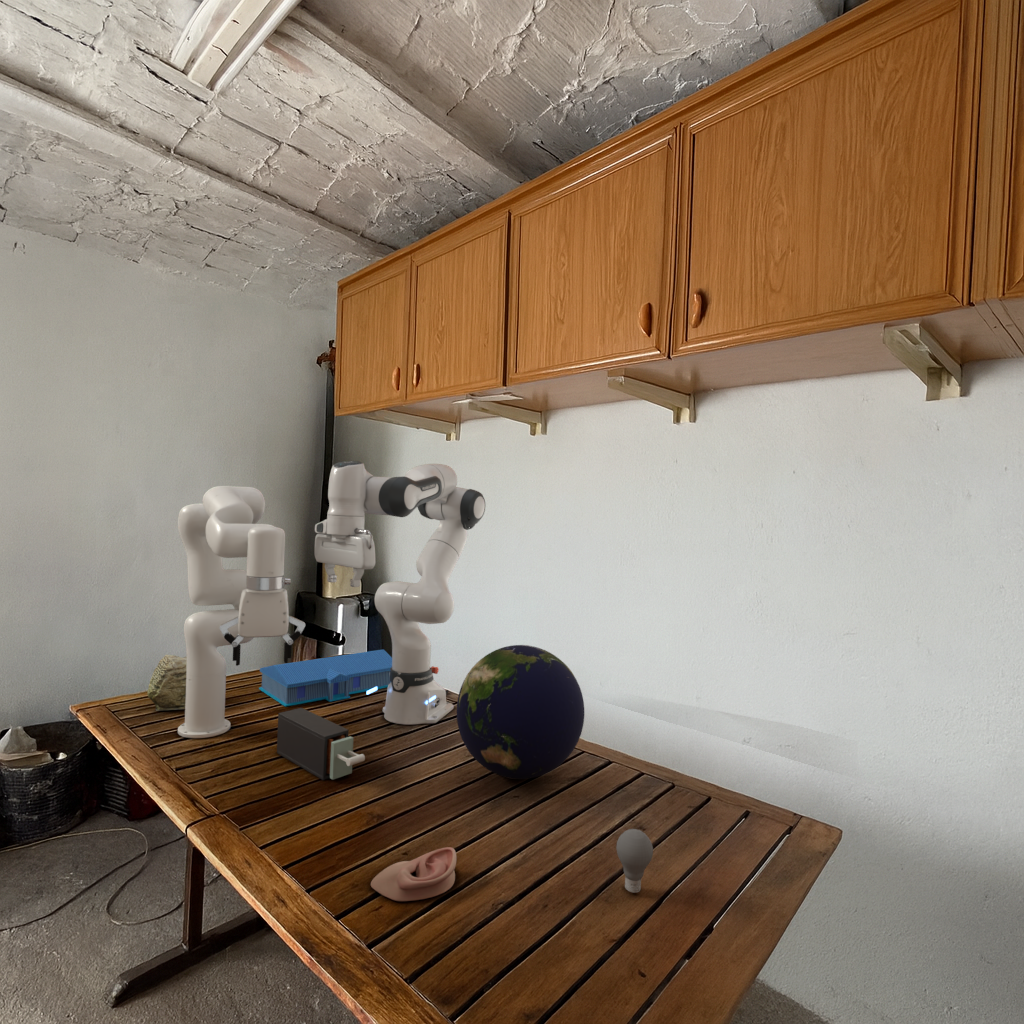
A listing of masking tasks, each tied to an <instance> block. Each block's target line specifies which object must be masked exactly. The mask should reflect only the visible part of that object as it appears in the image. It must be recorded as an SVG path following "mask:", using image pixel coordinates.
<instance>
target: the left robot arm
mask: <svg viewBox="0 0 1024 1024" xmlns="http://www.w3.org/2000/svg"><path fill="white" fill-rule="evenodd" d="M265 509H266V500H265V497H264V495H263V493H262V491H261V490H260V489H258V488H256V487H253V486H237V485H235V486H234V485H216V486H213V487H210V488H209V489H207V491H205V493H204V494H203V496H202V503H191V504H187V505H185V506H183V507H182V508H180V510H179V513H178V517H177V527H178V529H177V530H178V534H179V537H180V540H181V542H182V546H183V548H184V550H185V554H186V560H187V561H186V562H187V587H188V597H189V600H190V601H191V603H192V604H193V605H195V606H200V607H207V606H208V607H209V606H225V605H232V606H233V608H229V609H212V610H203V611H197V612H194V613H192V614H190V615H188V616H187V618H186V619H185V620H184V623H183V635H184V641H185V651H186V652H185V653H186V657H187V669H186V701H185V709H184V722H182V724H180V725H179V726H178V727H177V734H178V735H179V736H180V737H182V738H188V739H207V738H212V737H216V736H220V735H222V734H224V733H227V732H228V731H230V729H231V727H232V725H231V723H232V722H231V721H230V720H228V719H226V718H225V715H226V692H227V691H226V689H227V661H226V659H225V657H224V656H223V655H222V653H220V651H218V649H217V648H219V647H223V646H224V647H225V646H231V647H232V662H235V667H238V666H240V664H241V645H242V644H246V643H250V642H251V641H253V639H254V638H279V637H281V638H282V639H283V641H285V642H284V644H283V664H285V663H289V662H288V661H289V659H292V645H293V644H294V642H295V641H296V640H297V639H298V638H299V637H301V635H302V633H303V631H304V630H305V628H306V623H305V622H304V621H303V620H300V619H298V618H297V617H294V616H292V615H289V614H290V612H289V611H290V610H289V596H288V590H287V589H286V588H284V587H286V586H288V585H291V583H292V581H291V578H287V577H286V576H284V575H285V552H286V551H285V550H286V531H285V530H284V529H283V528H281V527H278V526H275V525H273V524H270V523H269V524H268V523H258V522H259V521H260V520H261V518H262V517H263V515H264V513H265ZM223 558H224V559H237V558H246V570H245V569H241V568H228V569H225V568H224V565H223ZM289 623H290V624H292V625H294V626H296V629H295V631H293V632H292V634H290V633H289V632H288V631H289V625H290V624H289Z"/></svg>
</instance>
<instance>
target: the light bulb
mask: <svg viewBox="0 0 1024 1024" xmlns="http://www.w3.org/2000/svg"><path fill="white" fill-rule="evenodd" d="M615 849H616V854H617V857H618V859H619V861H620V863H621V865H622V867H623V873H624V874H623V875H624V876H625V878H624V888H625V890H627V891H628V892H630V893H634V894H635V893H639V892H640V891H641V889H642V887H641V886H642V879H643V877H644V875H645V871H646V868H647V867H648V866H649V864H650V863H651V861H652V859H653V855H654V847H653V843H652V841H651V838H649V836H648V835H647V834H646V833H645V832H643V831H642V830H641V829H636V828H629V829H627V830H625V831H623V832H622V833H621V834H620V835H619V837H618V839H617V841H616V847H615Z"/></svg>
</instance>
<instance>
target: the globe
mask: <svg viewBox="0 0 1024 1024" xmlns="http://www.w3.org/2000/svg"><path fill="white" fill-rule="evenodd" d="M456 721H457V722H456V723H457V727H458V731H459V734H460V737H461V740H462V742H463V744H464V747H465V748H466V749H467V751H468V752H469V754H470V755H471V756H472V757H473V759H474V760H475V761H476V762H477V763H478V764H479V765H481V766H482V767H483V768H485V769H486V770H488V771H489V772H491V773H493V774H495V775H497V776H500V777H502V778H507V779H511V780H527V779H528V780H529V779H535V778H538V777H542V776H544V775H546V774H549V773H551V772H552V771H554V770H556V769H557V768H558V767H559V766H561V765H562V764H563V763H564V762H565V761H566V760H567V759H568V758H569V757H570V756H571V754H572V753H573V752H574V750H575V748H576V747H577V745H578V742H579V740H580V739H581V736H582V733H583V728H584V723H585V702H584V696H583V692H582V689H581V687H580V684H579V681H578V680H577V678H576V676H575V675H574V673H573V672H572V670H571V669H570V668H569V667H568V665H567V664H566V663H565V662H564V661H562V659H560V658H559V657H558V656H556V655H555V654H553V653H552V652H550V651H547V650H546V649H543V648H540V647H537V646H532V645H529V644H514V645H513V644H512V645H507V646H503V647H500V648H497V649H495V650H493V651H491V652H489V653H488V654H486V655H484V656H483V657H481V658H480V660H478V661H477V662H476V663H475V664H474V665H473V666H472V668H471V669H470V670H469V671H468V672H467V674H466V676H465V677H464V679H463V682H462V684H461V686H460V689H459V692H458V696H457V703H456Z"/></svg>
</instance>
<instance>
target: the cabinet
mask: <svg viewBox="0 0 1024 1024" xmlns="http://www.w3.org/2000/svg"><path fill="white" fill-rule="evenodd" d="M349 734H350V732H349V729H348V728H346V727H343V726H342V725H340V724H337V723H335V722H333V721H332V720H329V719H326V718H325V717H322V716H320V715H318V714H316V713H313V712H311V711H309V710H307V709H305V708H303V707H298V708H294V709H291V710H285V711H282V712H278V713H277V734H276V735H277V736H276V737H277V739H276V754H278V755H279V756H281V757H283V758H285V759H286V760H288V761H290V762H291V763H293V764H295V765H297V766H298V767H300V768H301V769H303V770H305V771H306V772H308V773H310V774H312V775H313V776H315V777H316V778H319V779H320V780H321V781H325V780H328V779H331V778H330V774H328V773H326V764H327V739H329V738H333V737H336V736H340V735H344V736H345V738H346V737H349Z"/></svg>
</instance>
